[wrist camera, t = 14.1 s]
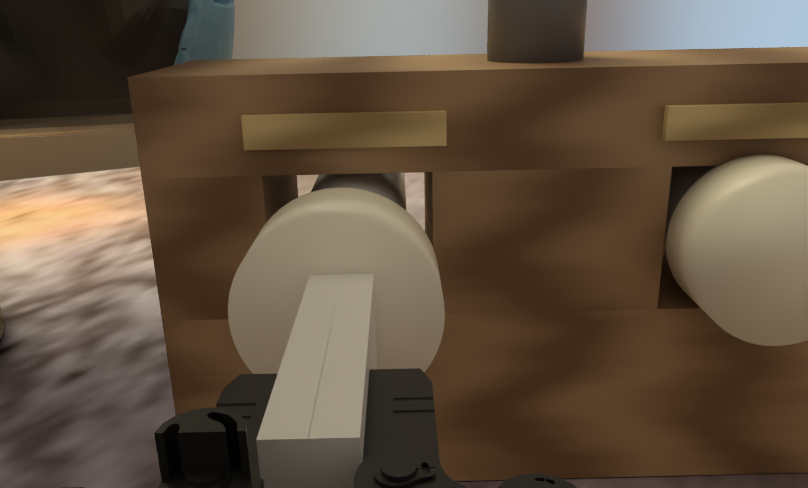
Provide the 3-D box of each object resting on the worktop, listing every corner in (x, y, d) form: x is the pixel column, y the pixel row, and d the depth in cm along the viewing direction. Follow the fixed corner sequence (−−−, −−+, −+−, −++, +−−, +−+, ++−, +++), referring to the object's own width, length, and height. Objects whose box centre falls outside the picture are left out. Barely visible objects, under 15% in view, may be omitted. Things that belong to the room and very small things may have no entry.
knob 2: (687, 348, 20) (709, 174, 19) (566, 206, 35) (572, 101, 33) (864, 343, 20) (901, 169, 19) (669, 203, 35) (680, 98, 33)
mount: (183, 493, 25) (123, 78, 20) (230, 386, 31) (193, 60, 27) (892, 475, 25) (993, 59, 20) (784, 373, 32) (840, 46, 27)
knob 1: (238, 413, 18) (216, 215, 16) (309, 229, 32) (302, 116, 31) (445, 409, 18) (444, 210, 16) (422, 227, 32) (421, 113, 31)
